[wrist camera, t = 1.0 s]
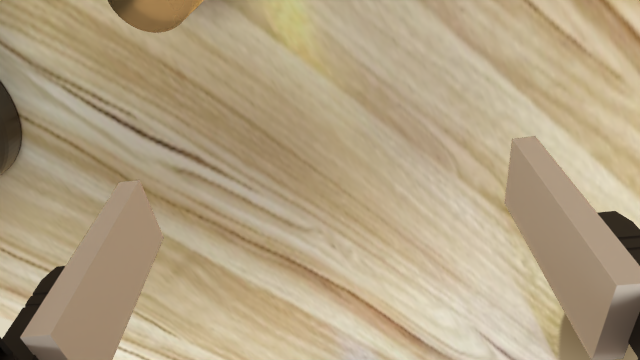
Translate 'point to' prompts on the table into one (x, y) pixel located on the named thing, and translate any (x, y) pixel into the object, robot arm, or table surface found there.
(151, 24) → the gold cylinder
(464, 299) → the table surface
